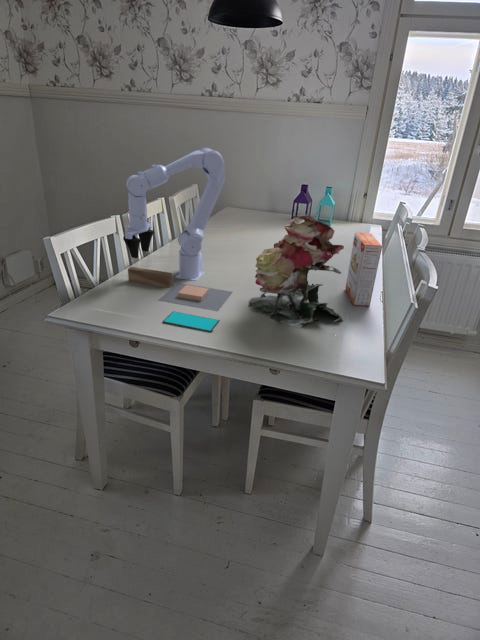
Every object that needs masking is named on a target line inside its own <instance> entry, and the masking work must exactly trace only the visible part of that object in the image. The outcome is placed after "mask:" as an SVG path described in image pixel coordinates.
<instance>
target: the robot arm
mask: <svg viewBox="0 0 480 640" xmlns="http://www.w3.org/2000/svg"><path fill="white" fill-rule="evenodd" d="M225 166H226V162H225V161H224V158H223V155H222V154H221V153H220V152H219V151H217V150H213V149H211V148H209V147H203V148H201V149H198V150H194V151H192V152H190V153H188V154H186V155H184V156H183V157H180V158H178V159H177V160H175V161H172V162H171V163H169V164H167V165H165V166H164V165H162V164H157V165H156V164H155V163H154V164H152V165H151V167H150V168H147V169H146V170H144V171H138V172H137V174H132V175H130V176H129V177H128V178H127V180H126V183H125V187H126V189H127V191H128V194H127V196H128V197H127V198H128V201H127V203H128V217H129V219H128V220H129V225H128V226H126V229H127V230H126V232H124V236H123V237H122V239H123V242H125V244H126V246H127V248H128V250H129V254H130V257H131V258H132V259H138V258H139V252H140V251H139V250H140V247H141V251H142V252H145V253H146V252H149V251H150V246H151V241H152V238H153V236H154V234H155V230H153V229H152V228H153V227H152V222H148V208H147V207H148V206H147V199H146V194H147V192H148V191H149V190H153V189H155V188H157V187H160V186H161V185H163V184H166V183H167V182H168V180H169V178H170V176H173V175H176V174H178V173H180V172H183V171H186V170H188V169H190V168H195V169H202V170H203V171H204V172H205V176H206V178H207V183H206V186H205V188H204V191H203V193H202V194H201V197H200V199H199V202H198V204H197V206H196V209H195V211H194V213H193V215H192V217H191V220H190V222H189V224H187V225H186V226H185V228H184V229H183V231H182V232H181V233H180V234H179V235H178V238H177V241H178V245H179V246H180V250H179V251H178V253H179V254H178V255H179V256H178V257H179V261H178V263H179V267H178V268H179V269H178V270H179V271H178V272H179V273H177V274H176V276H175V277H174V278H176V279H180V280H187V281H192V282H195V281H198V279H200V278H201V277H202V276H203V275H204V274H205V271H203V261H204V260H203V254H202V252H201V250H202V243H203V239H204V230H205V227H206V225H207V223H208V221H209V219H210V216H211V214H212V212H213V209H214V207H215V205H216V203H217V201H218V199H219V196H220V194H221V192H222V190H223V188H224V187H225V183H226V177H225V176H226V175H225ZM137 235H138V237H137Z"/></svg>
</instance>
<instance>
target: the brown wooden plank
mask: <svg viewBox="0 0 480 640" xmlns="http://www.w3.org/2000/svg"><path fill="white" fill-rule="evenodd" d="M127 273H128V274H127V275H128V282H131V283H138V284H145V285H150V286H156V287H157V286H158V287H162V288H170V287H172V286H173V273H172V272H168V271H161V270H155V269H149V268H142V267H135V266H131V267H129V268H128V269H127Z"/></svg>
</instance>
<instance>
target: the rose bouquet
mask: <svg viewBox="0 0 480 640" xmlns="http://www.w3.org/2000/svg"><path fill="white" fill-rule="evenodd" d="M284 229H285V231H286V233H287V234H285V235H284V237H283V238H281V240H279V241H278V242H276V243H274V244H273V247H272V248H271V247H270V248H267V249H263V251H262V252H261V253H260V254H259V255H258V256H257V257H256V258H255V260H256V264H255V266H254V267H256V268H257V269H256V270H255V273H256V274H255V276H254V278H255V284H256V286H257V285H258V286H261V287H260V288H259V291H260V292H261V293H262V294H261V295H260V296H255V297H254V296H253V297H251V298H250V300H249V301H248V305H247V307H248V308H249V309H250V310H251V311H253V312H254V313H258V314H260V315H263V316H266V317H269V318H271V319H272V320H274V321H275V322H276V324H277V325H278V324H279V325H282V322H284V323H286V324H287V326H291V327H294V328H299V329H301V328H303V327H304V325H305V324H306V323H307V324H308V323H313V322H315V323H316V322H320V319H319V318H315V317H313V315H314V311H315V310H322V311H324V312H326V313H328V314H330V315H333V316H335V317H338V318H337V319H335V320H333V323H334V322H340V321H341V322H344V319H343V316H341V315H340V314H338V313H337V312H336V311H335V310H334V309H333V308H330V307H328V305H329V303H327V302H322V303H321V302H319V288H320V286H321V287H322V286H323V285H324V284H321V283H319V284H318V283H317V284H314V283H312V284H309V281H308V275H309V272H310V271H314V272H316V271H325V272H327V271H328V272H333V273H336V274H339V275H341V274H342V271H341V270H339V269H338V268H336V267H335V266H333V265H332V266H331V265H327V264H326V263H327V262H329V261H330V259H332V258H333V257H334V255H339V253H340V252H341V251H342V250H344V249H345V248H344V247H345V246H344V245H342V244H333V243H332V242H331V241H330V240H332V239H333V237H334V234H335V232H336V229H334V228H333V227H332V226H330V225H328V224H327V223H325V222H323V221H320V220H319V219H317V218H316V217H315V216H314V215H312V216H311V215H308V214H300V215H299V216H294V217H293V218H292V219H290V220H289V224H285V225H284ZM265 294H277V295H268V296H267V295H265ZM289 307H290V308H292V309H290V308H289Z"/></svg>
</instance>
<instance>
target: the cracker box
mask: <svg viewBox="0 0 480 640" xmlns="http://www.w3.org/2000/svg"><path fill="white" fill-rule="evenodd" d="M351 249H352V250H351V255H350V259H349V265H348V270H347V277H346V283H345V287H344V288H345V291H346V292H347V295H348V297H349V299H350V301H351V303H352V305H353V306H364V307H370V306H371V302H372V296H373V292H374V288H375V287H374V286H375V282H376V279H377V278H376V277H377V272H378V268H379V264H380V258H381V254H382V249H383V246H382V244H381V243H380V242H379V241H378V239H376V238H375V236H374V235H373V234H372V233H369V232H368V233H365V232H355V233H354V237H353V241H352V248H351Z"/></svg>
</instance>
